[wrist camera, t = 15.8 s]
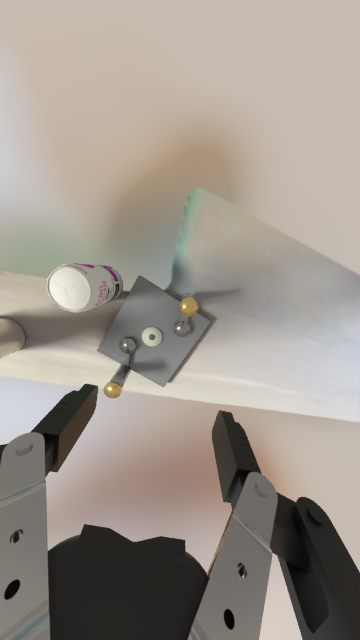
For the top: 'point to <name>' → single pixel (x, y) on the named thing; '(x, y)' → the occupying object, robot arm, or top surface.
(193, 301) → the crank
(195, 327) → the board
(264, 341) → the top surface
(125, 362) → the crank
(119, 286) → the supplement can
